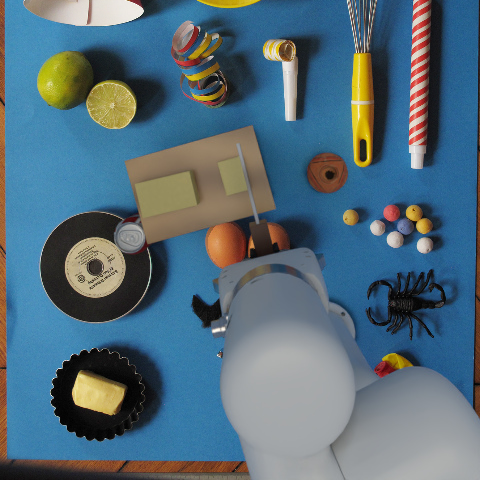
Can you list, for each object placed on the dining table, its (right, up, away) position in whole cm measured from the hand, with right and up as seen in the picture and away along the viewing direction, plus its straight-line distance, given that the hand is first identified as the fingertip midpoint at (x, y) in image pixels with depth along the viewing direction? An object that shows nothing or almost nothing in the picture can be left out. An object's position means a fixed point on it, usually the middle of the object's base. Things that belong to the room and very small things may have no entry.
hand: (266, 257), depth 52 cm
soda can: (-22, -2, +34) cm, 41 cm away
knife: (-1, +5, +1) cm, 5 cm away
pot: (+14, +10, +33) cm, 37 cm away
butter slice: (-6, +9, +9) cm, 14 cm away
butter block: (-14, +7, +11) cm, 19 cm away
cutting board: (-9, +8, +33) cm, 36 cm away
